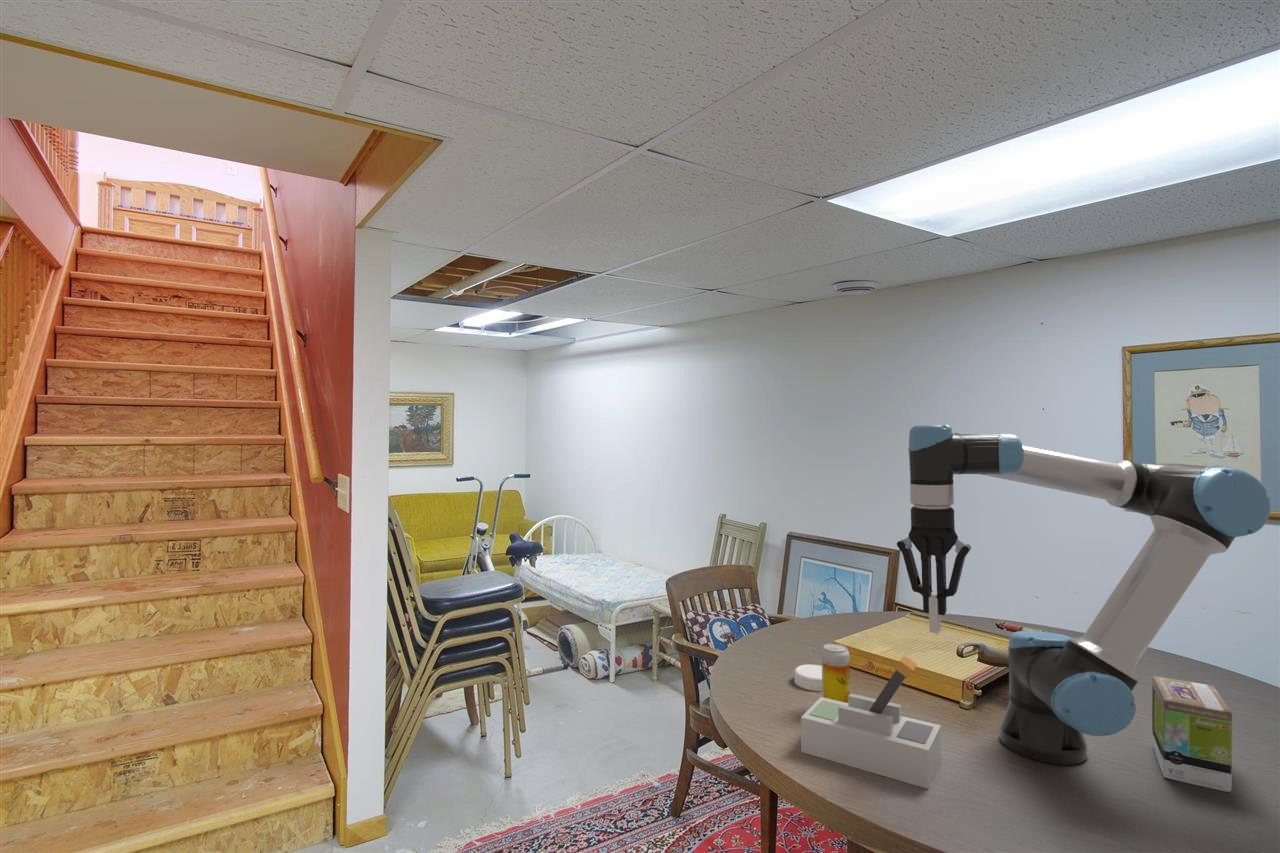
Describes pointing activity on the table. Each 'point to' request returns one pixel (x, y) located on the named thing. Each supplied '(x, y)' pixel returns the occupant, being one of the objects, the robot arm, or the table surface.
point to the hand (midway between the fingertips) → (935, 630)
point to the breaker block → (872, 739)
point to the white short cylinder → (809, 677)
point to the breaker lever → (893, 684)
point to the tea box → (1192, 733)
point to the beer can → (835, 672)
